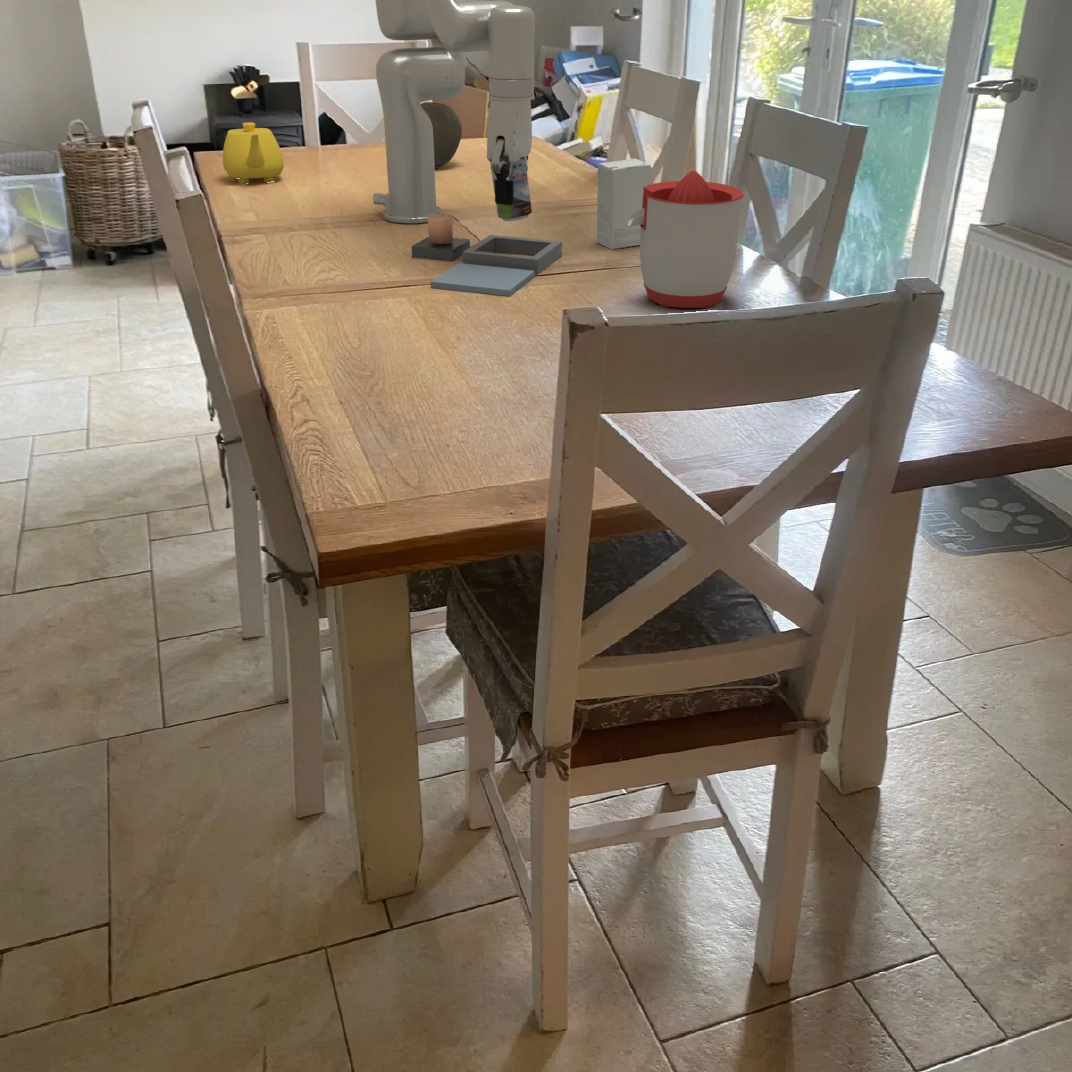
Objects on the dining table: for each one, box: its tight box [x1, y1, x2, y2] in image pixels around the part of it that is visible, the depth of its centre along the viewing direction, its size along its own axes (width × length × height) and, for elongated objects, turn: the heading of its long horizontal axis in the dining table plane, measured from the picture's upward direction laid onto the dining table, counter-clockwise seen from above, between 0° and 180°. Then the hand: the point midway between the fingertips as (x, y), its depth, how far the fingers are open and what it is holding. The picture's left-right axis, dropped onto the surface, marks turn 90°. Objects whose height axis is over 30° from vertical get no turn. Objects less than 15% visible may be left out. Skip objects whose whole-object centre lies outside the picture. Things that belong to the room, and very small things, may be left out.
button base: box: [411, 236, 471, 262], centre depth 195 cm, size 8×8×2 cm
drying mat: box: [430, 262, 536, 297], centre depth 180 cm, size 14×12×1 cm
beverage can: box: [489, 155, 533, 222], centre depth 185 cm, size 6×7×12 cm
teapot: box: [222, 121, 285, 185], centre depth 247 cm, size 14×20×13 cm
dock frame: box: [461, 234, 563, 275], centre depth 191 cm, size 14×13×2 cm
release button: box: [427, 214, 454, 244], centre depth 193 cm, size 4×4×4 cm
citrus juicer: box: [628, 169, 744, 309], centre depth 167 cm, size 16×17×20 cm
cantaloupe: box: [420, 101, 463, 169], centre depth 262 cm, size 14×14×15 cm
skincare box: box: [596, 158, 652, 250], centre depth 198 cm, size 8×6×15 cm
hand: (511, 198), depth 186 cm, fingers closed on beverage can, 6 cm apart
